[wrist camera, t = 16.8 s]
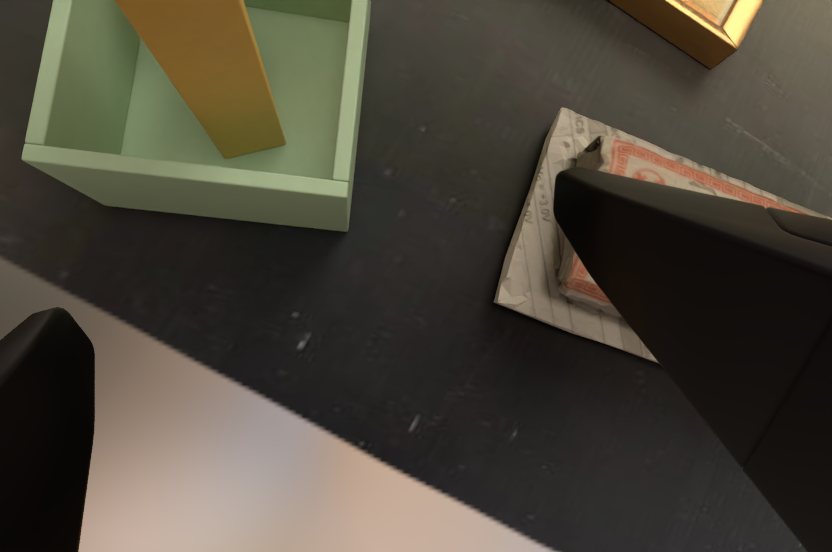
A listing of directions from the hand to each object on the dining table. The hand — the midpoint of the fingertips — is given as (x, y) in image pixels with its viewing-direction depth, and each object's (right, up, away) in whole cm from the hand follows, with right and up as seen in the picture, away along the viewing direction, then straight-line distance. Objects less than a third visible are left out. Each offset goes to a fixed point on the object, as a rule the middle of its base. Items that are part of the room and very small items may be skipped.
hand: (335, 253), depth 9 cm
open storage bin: (-6, +7, +14) cm, 17 cm away
